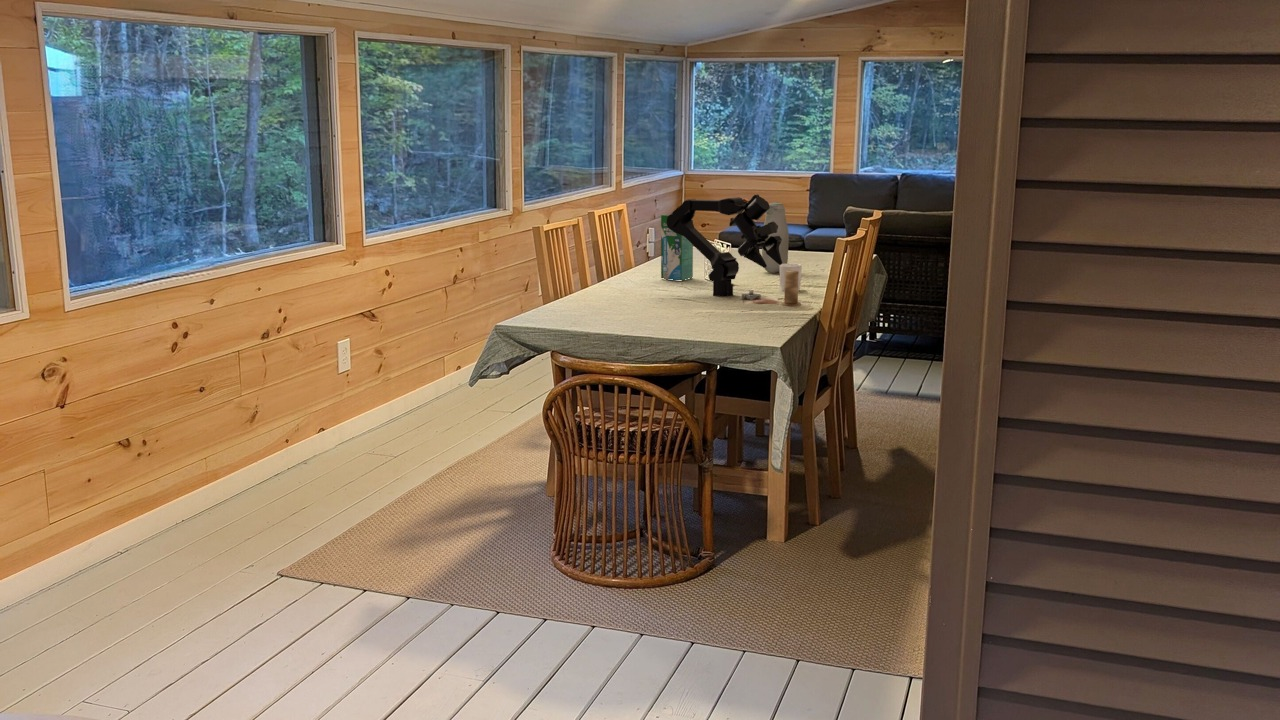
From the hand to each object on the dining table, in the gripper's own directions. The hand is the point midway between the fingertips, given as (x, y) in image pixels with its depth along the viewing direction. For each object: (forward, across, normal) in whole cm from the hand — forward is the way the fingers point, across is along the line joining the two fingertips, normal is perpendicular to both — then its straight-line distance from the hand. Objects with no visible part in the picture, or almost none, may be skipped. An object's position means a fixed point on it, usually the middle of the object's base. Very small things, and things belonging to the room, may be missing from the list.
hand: (773, 265), depth 376 cm
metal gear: (+4, -1, +14) cm, 15 cm away
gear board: (+7, -1, +12) cm, 14 cm away
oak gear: (+15, -1, +3) cm, 15 cm away
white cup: (+4, +24, +15) cm, 29 cm away
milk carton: (-30, +24, +54) cm, 66 cm away
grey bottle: (-17, +60, +39) cm, 74 cm away
